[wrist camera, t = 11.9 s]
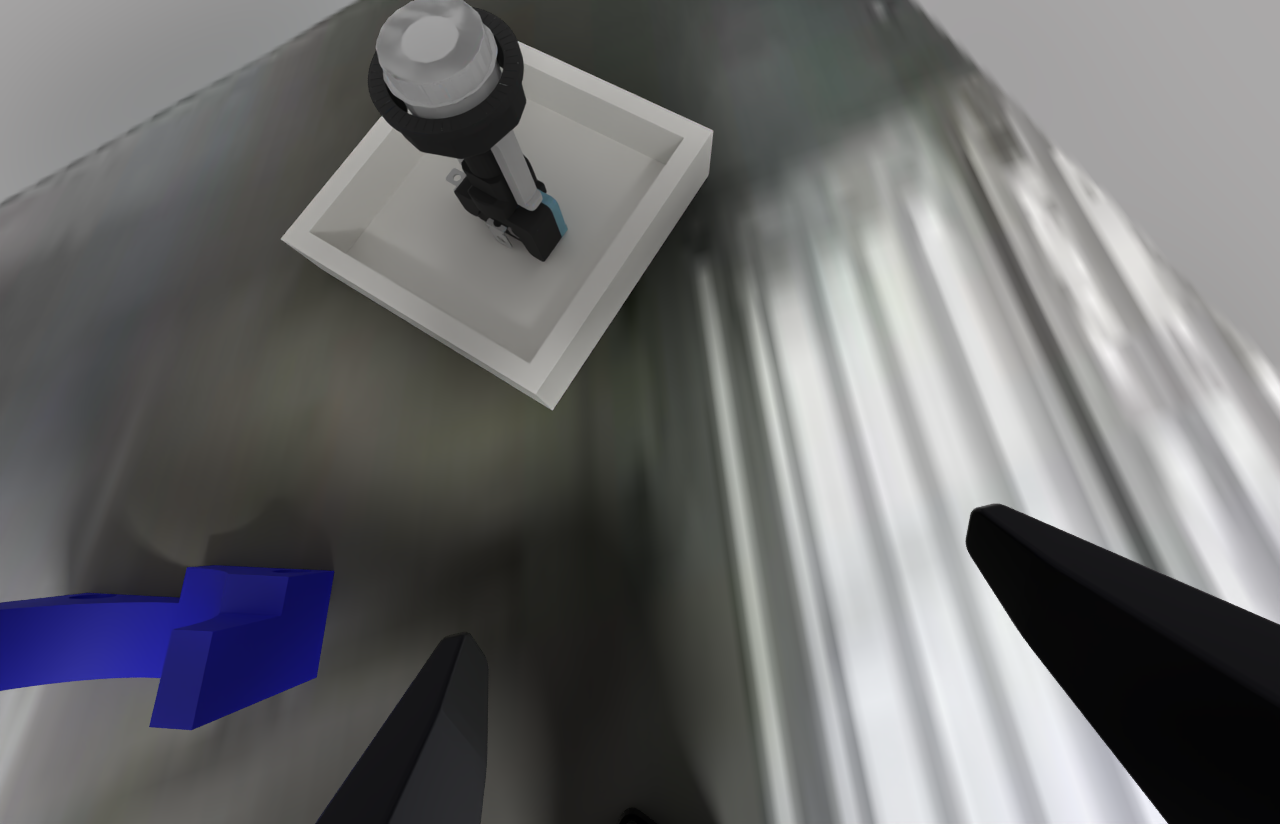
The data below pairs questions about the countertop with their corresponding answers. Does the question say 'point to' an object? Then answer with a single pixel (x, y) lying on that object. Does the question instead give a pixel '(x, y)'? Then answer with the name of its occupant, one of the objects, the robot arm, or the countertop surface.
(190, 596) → the blue u-shaped cradle
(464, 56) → the push button
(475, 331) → the tray
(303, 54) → the countertop surface
